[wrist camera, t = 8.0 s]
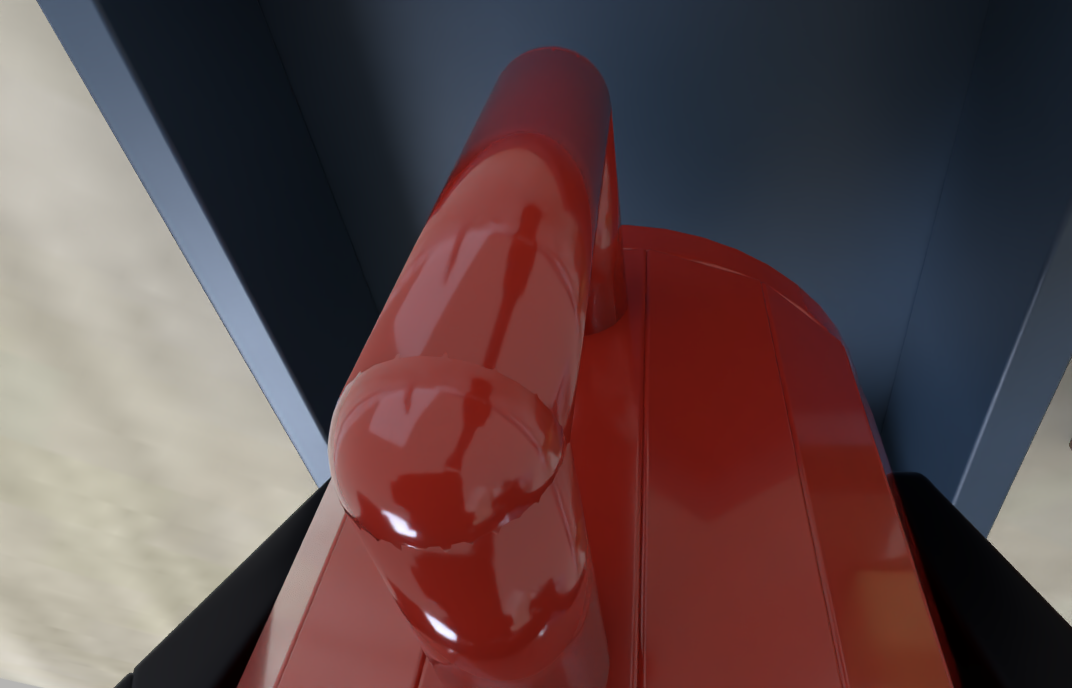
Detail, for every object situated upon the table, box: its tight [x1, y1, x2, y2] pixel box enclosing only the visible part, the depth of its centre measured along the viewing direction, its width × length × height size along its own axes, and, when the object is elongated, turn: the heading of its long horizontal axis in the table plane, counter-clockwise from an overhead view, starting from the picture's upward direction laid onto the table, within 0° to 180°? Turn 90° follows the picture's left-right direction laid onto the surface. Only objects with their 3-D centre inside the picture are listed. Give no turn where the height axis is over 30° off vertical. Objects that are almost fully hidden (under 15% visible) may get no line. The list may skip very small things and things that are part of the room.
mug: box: [237, 46, 963, 688], centre depth 7 cm, size 9×7×6 cm
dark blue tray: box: [36, 0, 1072, 539], centre depth 12 cm, size 13×15×4 cm
